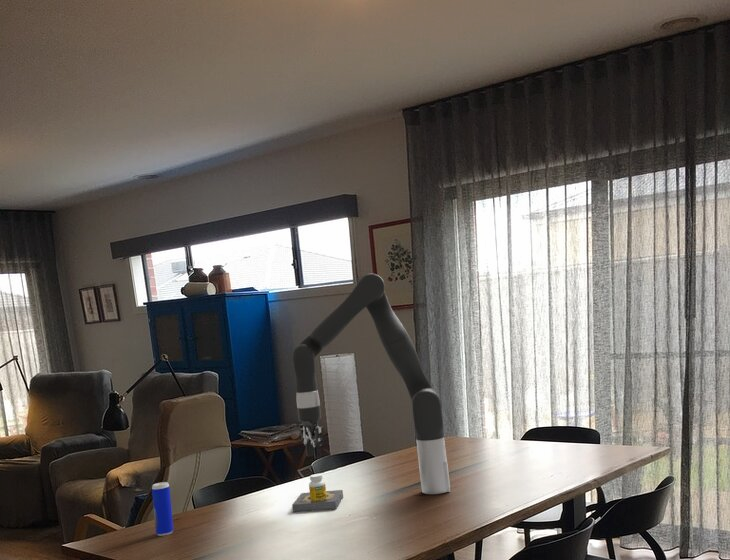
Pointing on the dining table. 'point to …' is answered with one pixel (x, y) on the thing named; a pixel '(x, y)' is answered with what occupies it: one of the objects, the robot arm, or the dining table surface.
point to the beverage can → (162, 508)
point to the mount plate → (317, 502)
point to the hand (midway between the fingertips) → (313, 456)
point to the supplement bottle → (317, 487)
